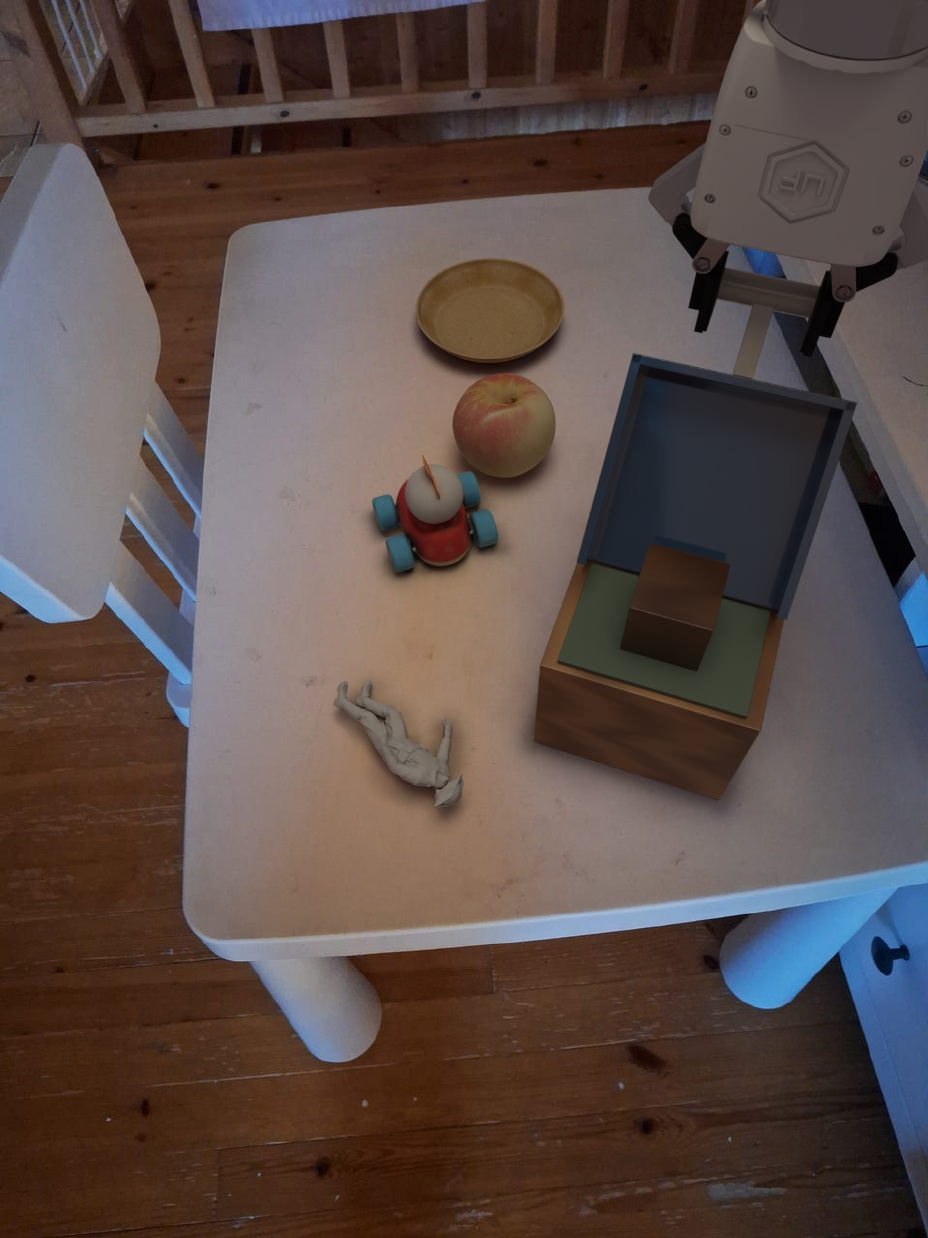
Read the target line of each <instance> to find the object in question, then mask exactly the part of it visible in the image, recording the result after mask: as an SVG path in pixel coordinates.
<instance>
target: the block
mask: <svg viewBox="0 0 928 1238" xmlns="http://www.w3.org/2000/svg"><path fill="white" fill-rule="evenodd" d="M729 569H730V564H728V563H724V562H720V561H717V560H713V559H709V558H705V557H701V556H698V555H694V554H690V553H686V552H683V551H679V550H675V549H671V548H667V547H664V546H660V545H656V544H652V543H650V544H649V546H648V550H647V553H646V556H645V559H644V562H643V565H642V569H641V572H640V575H639V578H638V581H637V584H636V587H635V591H634V594H633V597H632V600H631V603H630V606H629V610H628V615H627V619H626V623H625V627H624V632H623V636H622V640H621V644H620V649H621V650H625V651H628V652H632V653H635V654H638V655H642V656H645V657H649V658H652V659H656V660H659V661H662V662H666V663H669V664H673V665H676V666H680V667H683V668H687V669H690V670H693V671H698V668H699V666H700V664H701V661H702V659H703V656H704V654H705V651H706V649H707V646H708V644H709V641H710V639H711V636H712V634H713V631H714V627H715V623H716V620H717V616H718V612H719V608H720V604H721V600H722V596H723V592H724V588H725V585H726V581H727V577H728V573H729Z"/></svg>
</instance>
